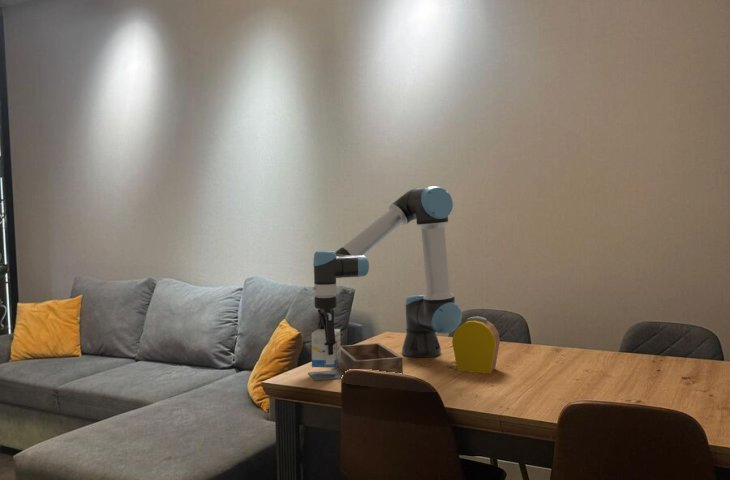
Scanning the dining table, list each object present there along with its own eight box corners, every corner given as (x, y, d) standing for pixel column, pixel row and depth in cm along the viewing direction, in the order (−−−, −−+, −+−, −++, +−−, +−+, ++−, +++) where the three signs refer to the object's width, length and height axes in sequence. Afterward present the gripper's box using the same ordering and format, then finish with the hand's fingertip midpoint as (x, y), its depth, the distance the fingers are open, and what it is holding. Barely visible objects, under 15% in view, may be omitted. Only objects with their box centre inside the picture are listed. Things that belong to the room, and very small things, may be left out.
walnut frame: (380, 361, 240) (379, 342, 240) (402, 378, 214) (402, 357, 214) (337, 365, 236) (336, 346, 235) (355, 382, 210) (354, 361, 210)
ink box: (335, 368, 215) (335, 333, 214) (311, 367, 216) (310, 332, 216) (341, 362, 223) (340, 328, 223) (317, 361, 225) (317, 328, 224)
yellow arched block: (500, 368, 226) (500, 316, 225) (495, 374, 218) (494, 320, 217) (459, 365, 232) (458, 314, 231) (452, 370, 224) (451, 318, 224)
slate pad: (339, 370, 227) (339, 369, 227) (346, 378, 216) (346, 377, 216) (308, 373, 224) (308, 372, 224) (314, 381, 213) (314, 379, 213)
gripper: (308, 292, 229) (309, 354, 230) (321, 300, 207) (322, 368, 208) (328, 292, 231) (330, 352, 232) (344, 299, 209) (345, 367, 210)
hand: (326, 360), depth 220 cm, fingers closed on ink box, 11 cm apart
